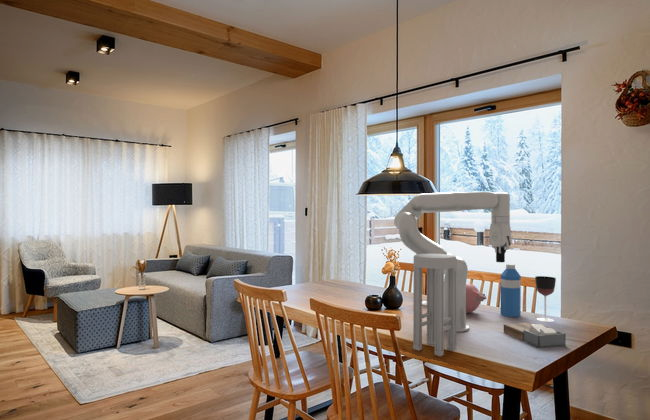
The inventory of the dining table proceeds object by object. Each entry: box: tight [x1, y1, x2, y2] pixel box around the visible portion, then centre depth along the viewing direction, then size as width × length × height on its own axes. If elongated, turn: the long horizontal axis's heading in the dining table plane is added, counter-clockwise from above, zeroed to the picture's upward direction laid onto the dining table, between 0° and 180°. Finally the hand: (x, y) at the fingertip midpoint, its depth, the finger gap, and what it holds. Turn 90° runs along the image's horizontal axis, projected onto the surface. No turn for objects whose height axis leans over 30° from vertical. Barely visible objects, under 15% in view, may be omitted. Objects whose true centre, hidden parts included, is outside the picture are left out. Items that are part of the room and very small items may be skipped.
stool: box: [412, 253, 458, 357], centre depth 162 cm, size 16×16×35 cm
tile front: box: [539, 327, 557, 335], centre depth 168 cm, size 5×5×3 cm
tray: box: [522, 329, 567, 349], centre depth 170 cm, size 12×8×4 cm
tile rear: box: [529, 323, 547, 335], centre depth 172 cm, size 5×5×3 cm
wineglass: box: [534, 275, 557, 323], centre depth 206 cm, size 8×9×20 cm
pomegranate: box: [466, 281, 487, 314], centre depth 218 cm, size 15×20×15 cm
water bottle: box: [500, 263, 522, 318], centre depth 216 cm, size 9×9×25 cm
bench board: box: [503, 322, 532, 342], centre depth 180 cm, size 12×12×4 cm
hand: (500, 262), depth 191 cm, fingers closed
